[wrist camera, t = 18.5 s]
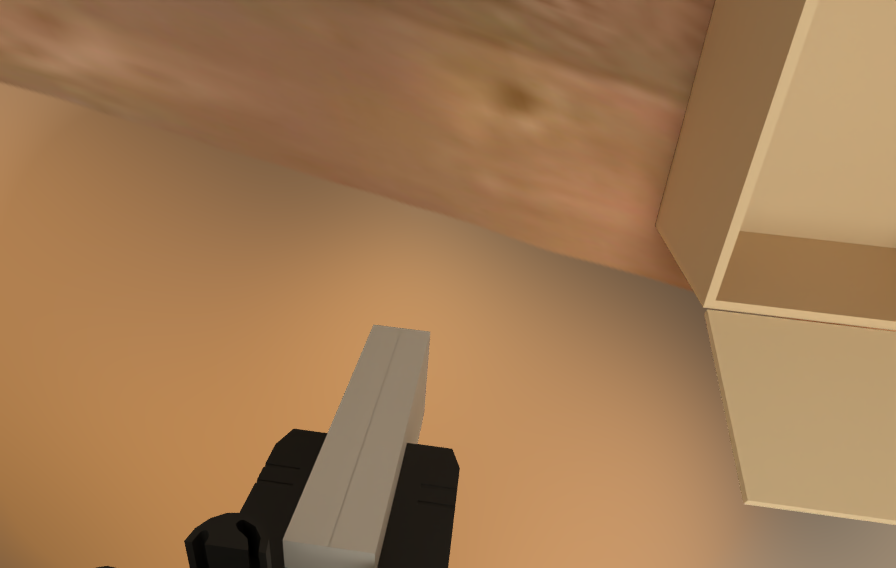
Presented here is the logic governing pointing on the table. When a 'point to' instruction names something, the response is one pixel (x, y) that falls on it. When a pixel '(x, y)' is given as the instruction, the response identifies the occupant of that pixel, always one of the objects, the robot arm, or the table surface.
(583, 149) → the table surface
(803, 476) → the flap
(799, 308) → the carton
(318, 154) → the table surface
